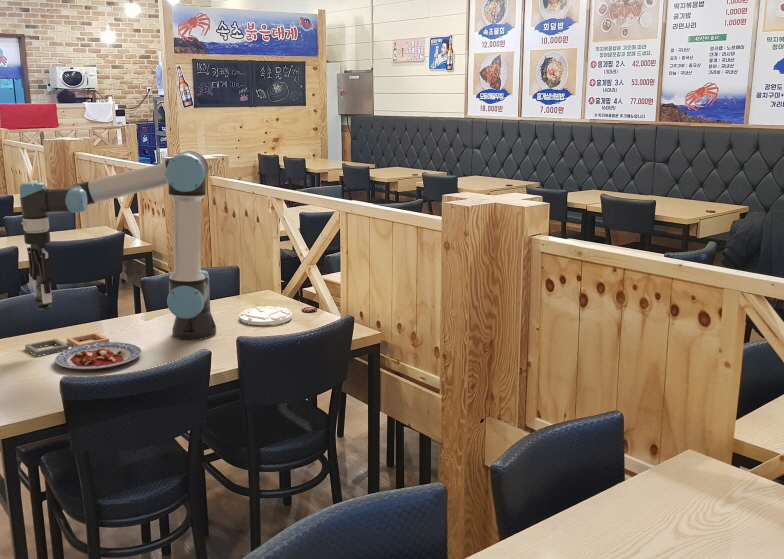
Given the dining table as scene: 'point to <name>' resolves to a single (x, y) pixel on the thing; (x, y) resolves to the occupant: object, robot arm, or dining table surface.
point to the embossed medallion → (265, 316)
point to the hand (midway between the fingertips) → (43, 300)
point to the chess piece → (40, 297)
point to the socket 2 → (93, 335)
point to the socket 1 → (50, 350)
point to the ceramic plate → (98, 355)
